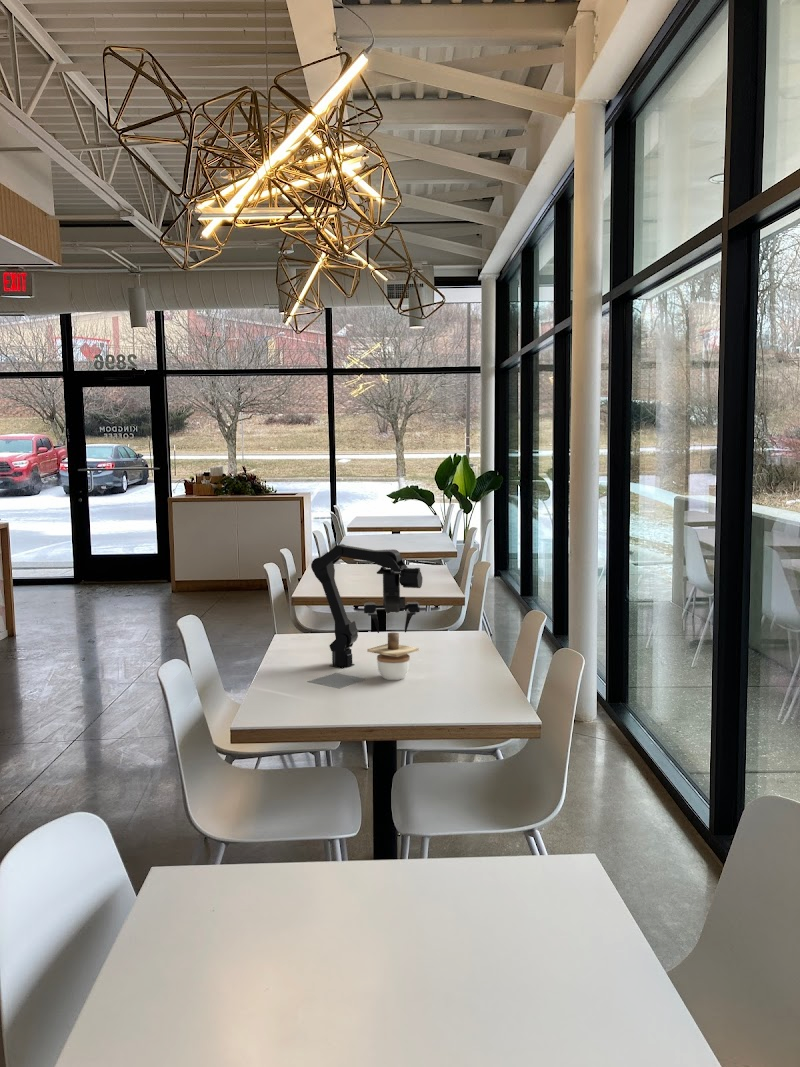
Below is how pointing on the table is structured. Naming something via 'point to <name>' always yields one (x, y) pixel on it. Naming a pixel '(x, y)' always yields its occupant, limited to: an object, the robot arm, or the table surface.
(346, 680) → the mat
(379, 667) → the lidded jar
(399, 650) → the lid
